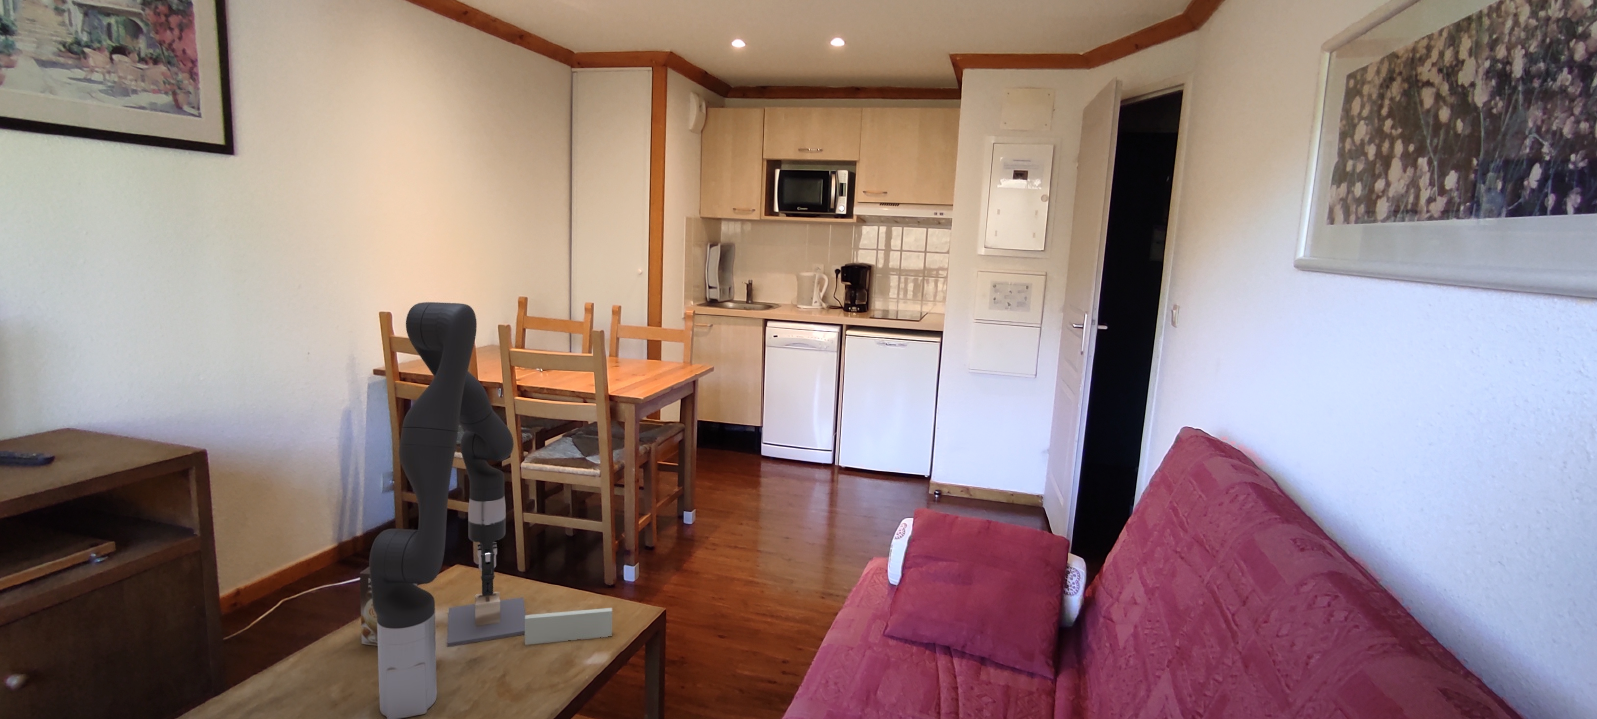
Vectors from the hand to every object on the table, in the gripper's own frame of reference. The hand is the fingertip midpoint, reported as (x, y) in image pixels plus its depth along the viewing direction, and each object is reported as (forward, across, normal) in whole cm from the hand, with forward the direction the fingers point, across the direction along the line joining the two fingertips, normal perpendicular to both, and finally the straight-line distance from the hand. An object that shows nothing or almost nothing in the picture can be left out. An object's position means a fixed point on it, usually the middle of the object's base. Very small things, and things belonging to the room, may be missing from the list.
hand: (487, 586), depth 160 cm
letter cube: (+8, 0, 0) cm, 8 cm away
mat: (+9, 0, 0) cm, 9 cm away
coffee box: (+9, 0, -19) cm, 21 cm away
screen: (+9, +12, +16) cm, 22 cm away
